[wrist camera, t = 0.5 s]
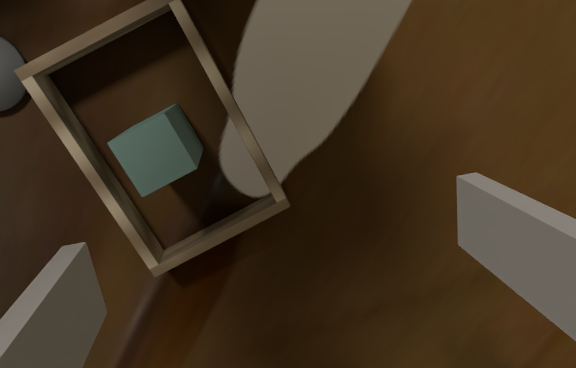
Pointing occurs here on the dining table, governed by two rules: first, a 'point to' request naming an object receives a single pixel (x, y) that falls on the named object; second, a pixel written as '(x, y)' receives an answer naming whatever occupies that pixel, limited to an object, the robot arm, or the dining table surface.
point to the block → (158, 150)
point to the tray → (98, 170)
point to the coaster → (10, 75)
